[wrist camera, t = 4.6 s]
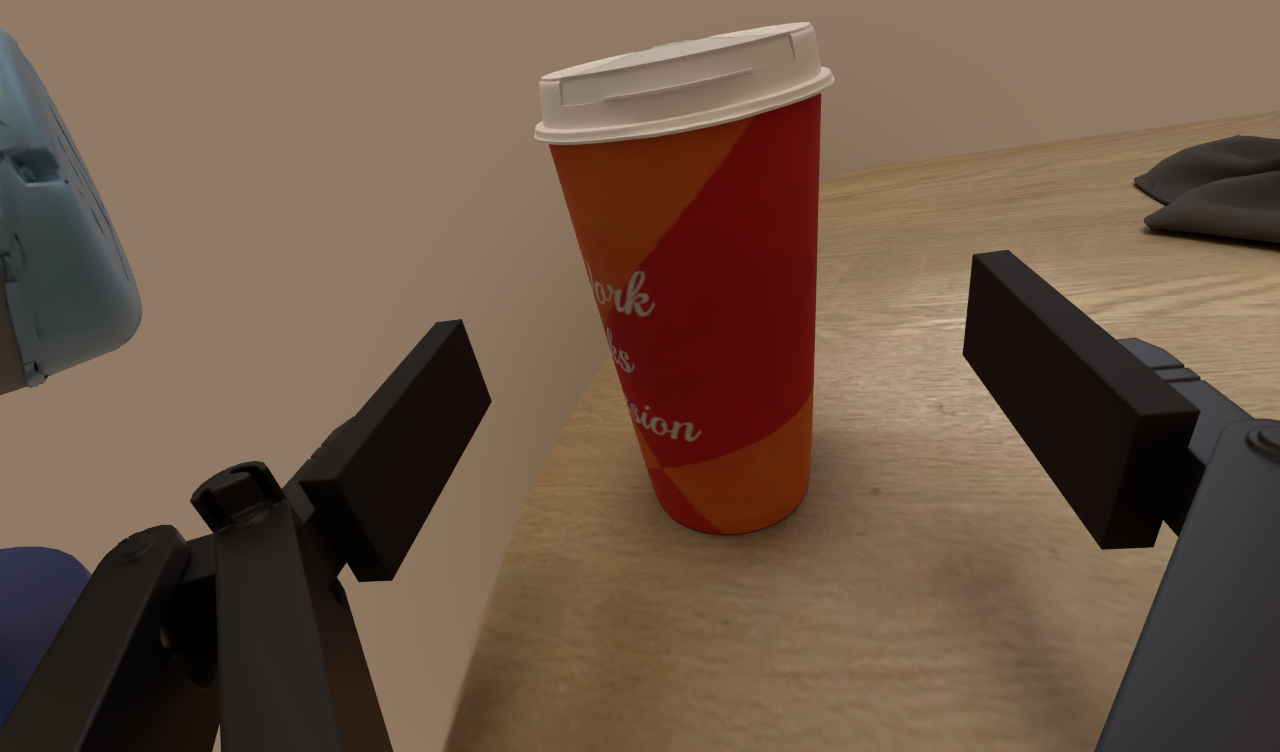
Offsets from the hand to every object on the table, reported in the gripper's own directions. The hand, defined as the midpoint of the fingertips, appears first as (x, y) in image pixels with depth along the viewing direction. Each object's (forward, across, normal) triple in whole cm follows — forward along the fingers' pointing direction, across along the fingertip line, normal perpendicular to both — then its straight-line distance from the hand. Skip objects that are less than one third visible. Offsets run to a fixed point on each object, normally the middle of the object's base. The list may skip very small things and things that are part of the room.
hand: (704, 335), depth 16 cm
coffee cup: (+4, 0, -9) cm, 9 cm away
